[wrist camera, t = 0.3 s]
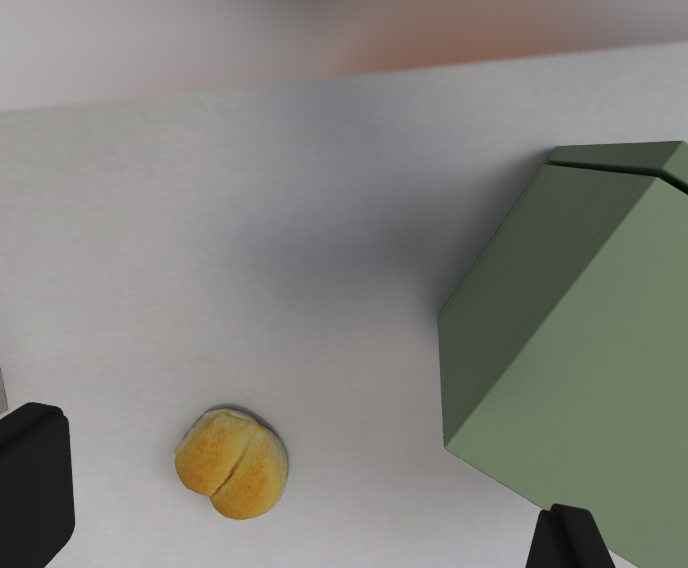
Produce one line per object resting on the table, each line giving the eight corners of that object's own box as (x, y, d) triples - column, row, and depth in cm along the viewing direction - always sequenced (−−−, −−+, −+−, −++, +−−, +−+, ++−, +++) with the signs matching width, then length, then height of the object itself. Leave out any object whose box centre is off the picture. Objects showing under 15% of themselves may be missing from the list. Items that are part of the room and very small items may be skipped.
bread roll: (254, 518, 41) (236, 555, 38) (171, 450, 41) (145, 481, 37) (314, 459, 39) (301, 492, 35) (227, 386, 38) (204, 412, 35)
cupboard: (543, 163, 31) (656, 176, 15) (791, 314, 30) (1155, 478, 15) (436, 316, 34) (443, 449, 19) (658, 451, 34) (843, 694, 19)
